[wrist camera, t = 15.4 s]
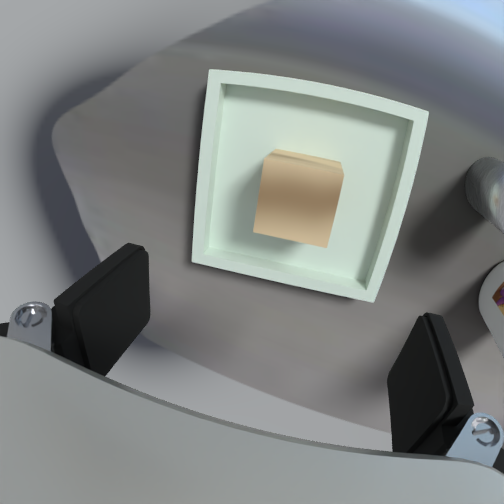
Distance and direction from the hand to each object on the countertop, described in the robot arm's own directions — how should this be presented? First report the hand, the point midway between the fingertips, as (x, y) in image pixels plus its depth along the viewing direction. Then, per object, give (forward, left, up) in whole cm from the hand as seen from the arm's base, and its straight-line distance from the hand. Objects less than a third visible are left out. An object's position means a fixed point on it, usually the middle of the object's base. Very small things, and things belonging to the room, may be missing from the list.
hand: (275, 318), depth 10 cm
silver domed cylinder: (+4, -16, -17) cm, 24 cm away
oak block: (0, 0, -16) cm, 16 cm away
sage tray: (0, 0, -17) cm, 17 cm away
